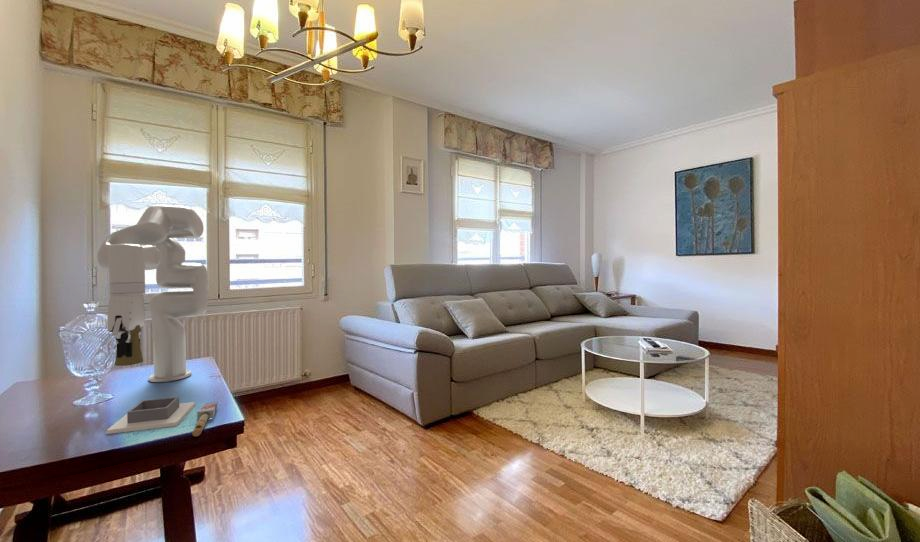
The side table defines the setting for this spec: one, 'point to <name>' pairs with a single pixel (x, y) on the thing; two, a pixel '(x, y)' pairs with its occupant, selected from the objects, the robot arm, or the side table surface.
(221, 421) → the side table surface
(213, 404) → the paintbrush
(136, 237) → the robot arm
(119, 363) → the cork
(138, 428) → the beige square socket base
